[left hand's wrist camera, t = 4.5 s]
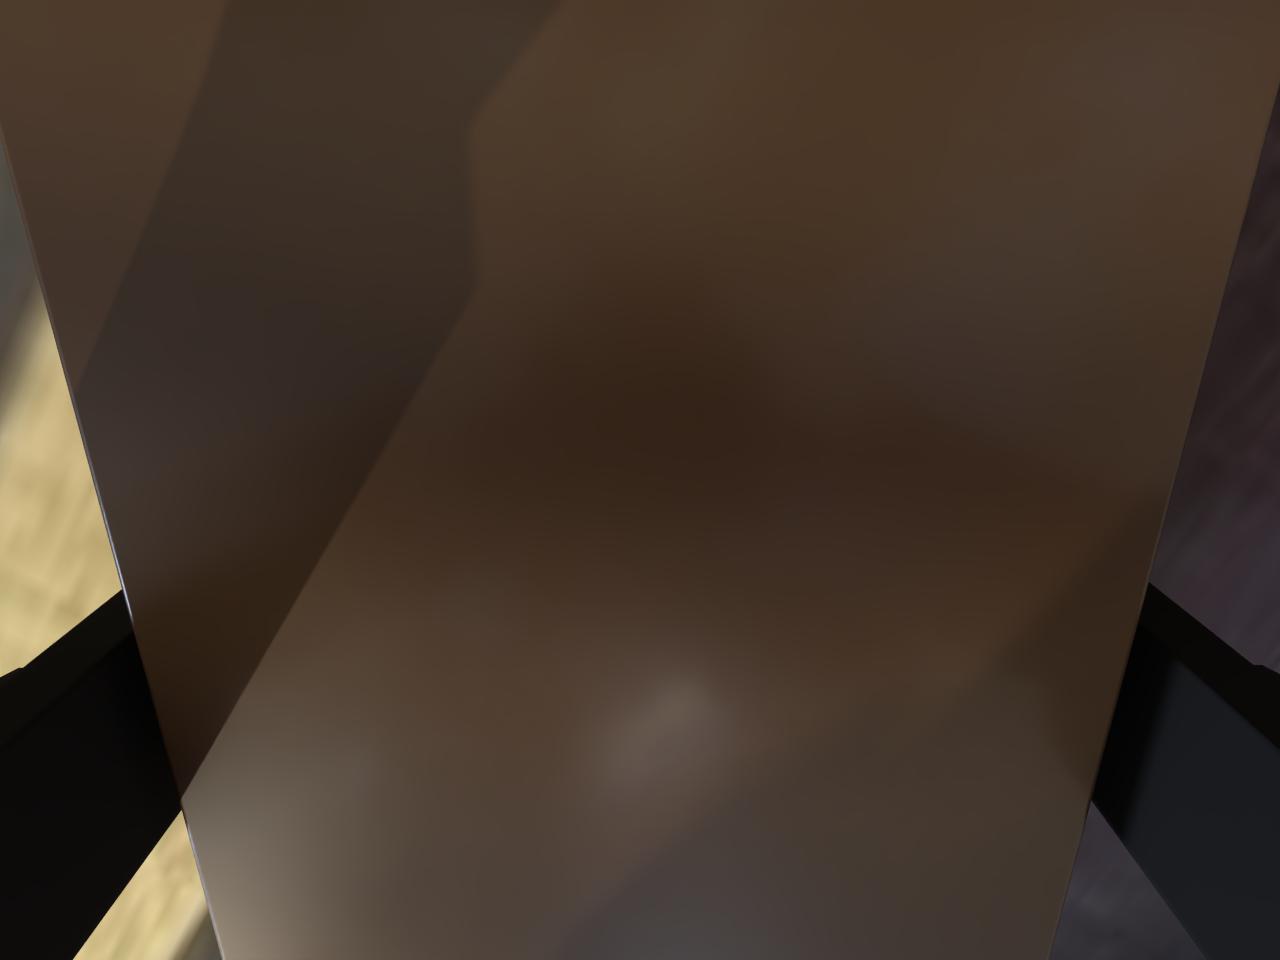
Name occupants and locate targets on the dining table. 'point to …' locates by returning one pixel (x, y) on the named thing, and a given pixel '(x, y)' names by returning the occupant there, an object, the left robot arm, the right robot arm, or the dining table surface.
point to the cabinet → (635, 443)
